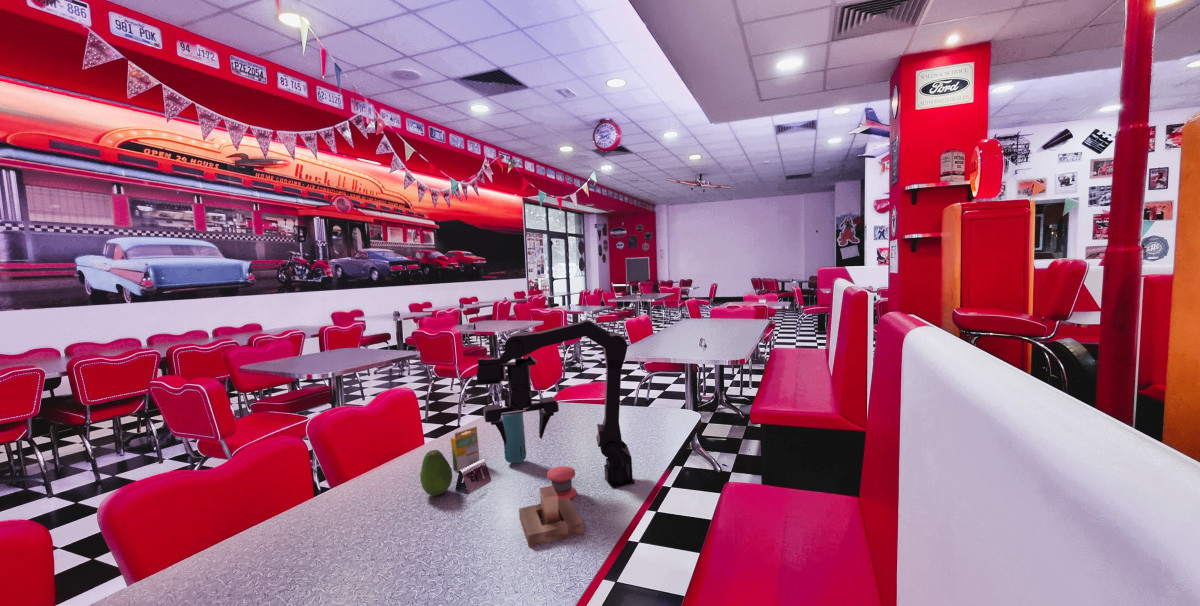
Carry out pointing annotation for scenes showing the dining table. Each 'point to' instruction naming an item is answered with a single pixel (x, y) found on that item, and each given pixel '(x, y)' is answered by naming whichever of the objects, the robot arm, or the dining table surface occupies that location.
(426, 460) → the avocado
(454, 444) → the crayon box
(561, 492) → the spool
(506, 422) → the beverage bottle
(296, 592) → the dining table surface
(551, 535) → the board with rectangular hole
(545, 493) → the reddish brown block
